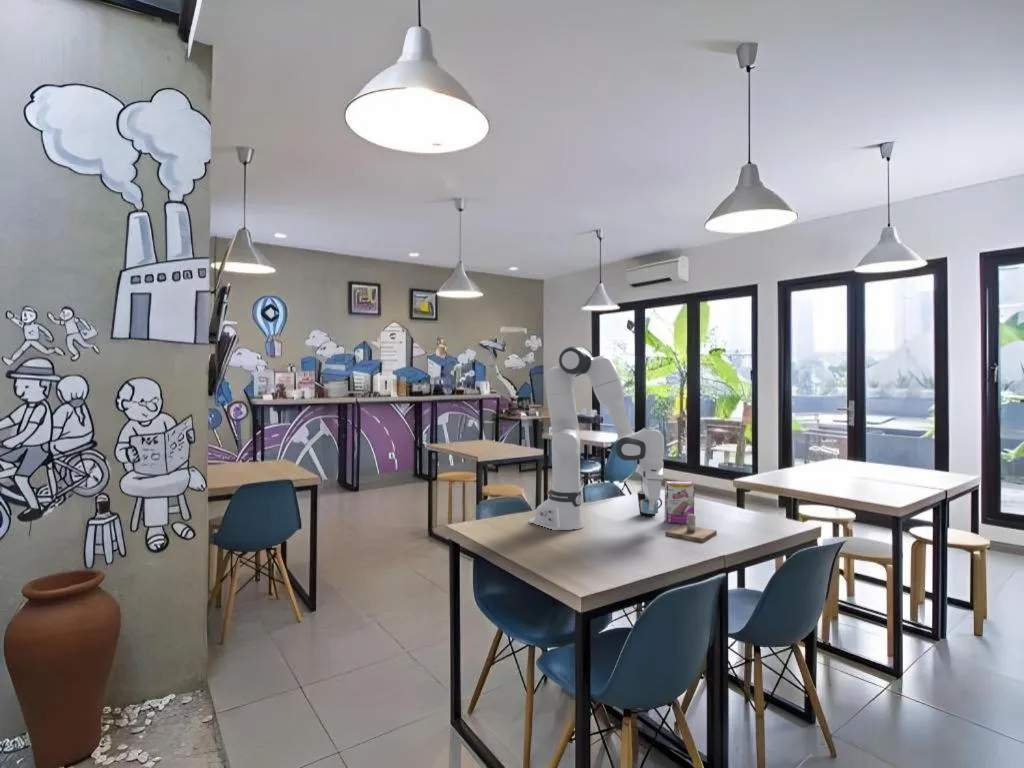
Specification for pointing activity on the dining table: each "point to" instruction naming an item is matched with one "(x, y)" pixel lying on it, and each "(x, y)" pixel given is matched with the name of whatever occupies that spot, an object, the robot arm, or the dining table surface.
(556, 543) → the dining table surface
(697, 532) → the shaft stand
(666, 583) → the dining table surface
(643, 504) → the blue faceted pot
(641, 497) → the coffee mug
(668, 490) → the candy bar box
